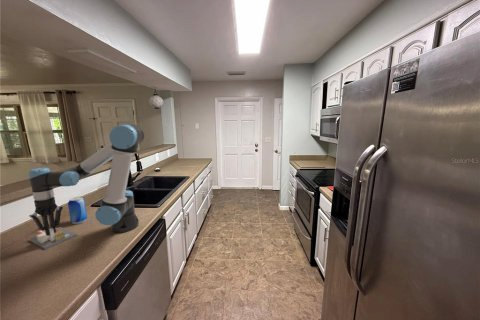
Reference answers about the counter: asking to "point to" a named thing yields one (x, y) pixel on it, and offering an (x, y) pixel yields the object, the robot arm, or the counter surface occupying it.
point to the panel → (52, 243)
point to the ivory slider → (42, 237)
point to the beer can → (77, 210)
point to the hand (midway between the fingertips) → (52, 239)
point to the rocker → (44, 231)
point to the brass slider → (59, 235)
